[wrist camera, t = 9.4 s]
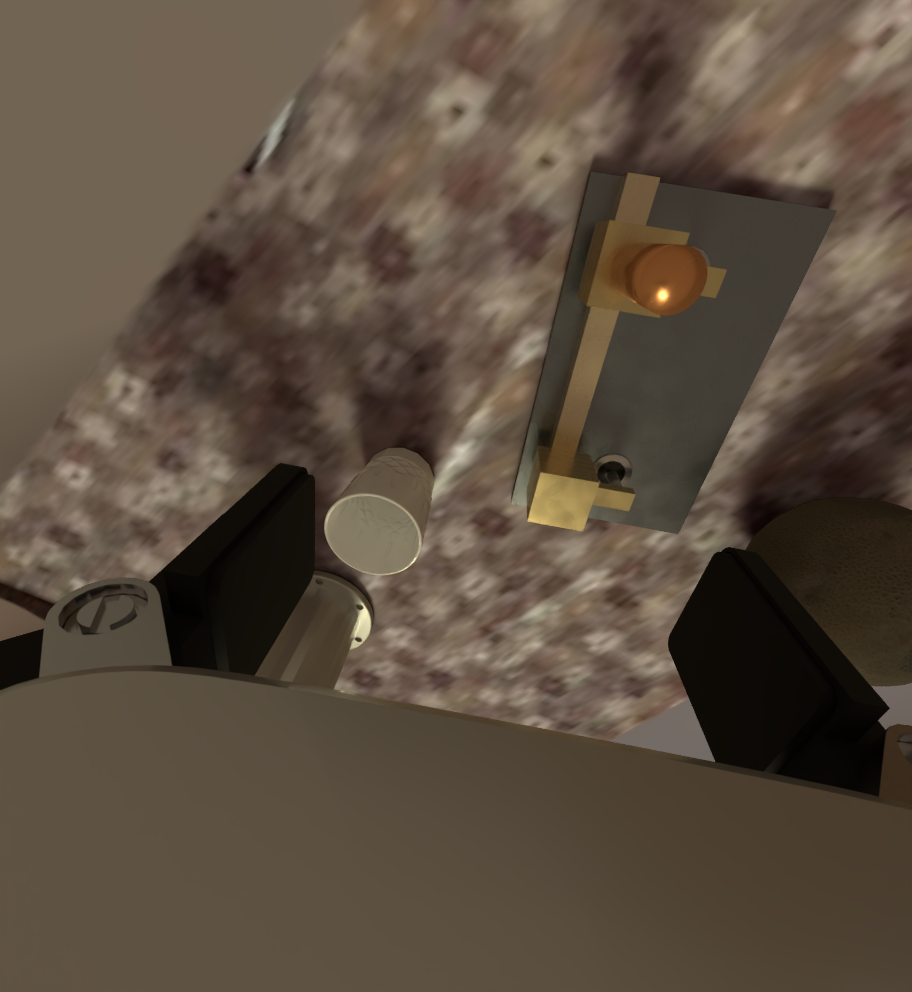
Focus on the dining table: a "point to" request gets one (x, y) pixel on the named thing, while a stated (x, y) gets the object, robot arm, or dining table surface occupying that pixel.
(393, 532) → the white cup
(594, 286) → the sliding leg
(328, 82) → the dining table surface
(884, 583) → the dimpled olive sphere
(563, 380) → the grey sliding latch board
